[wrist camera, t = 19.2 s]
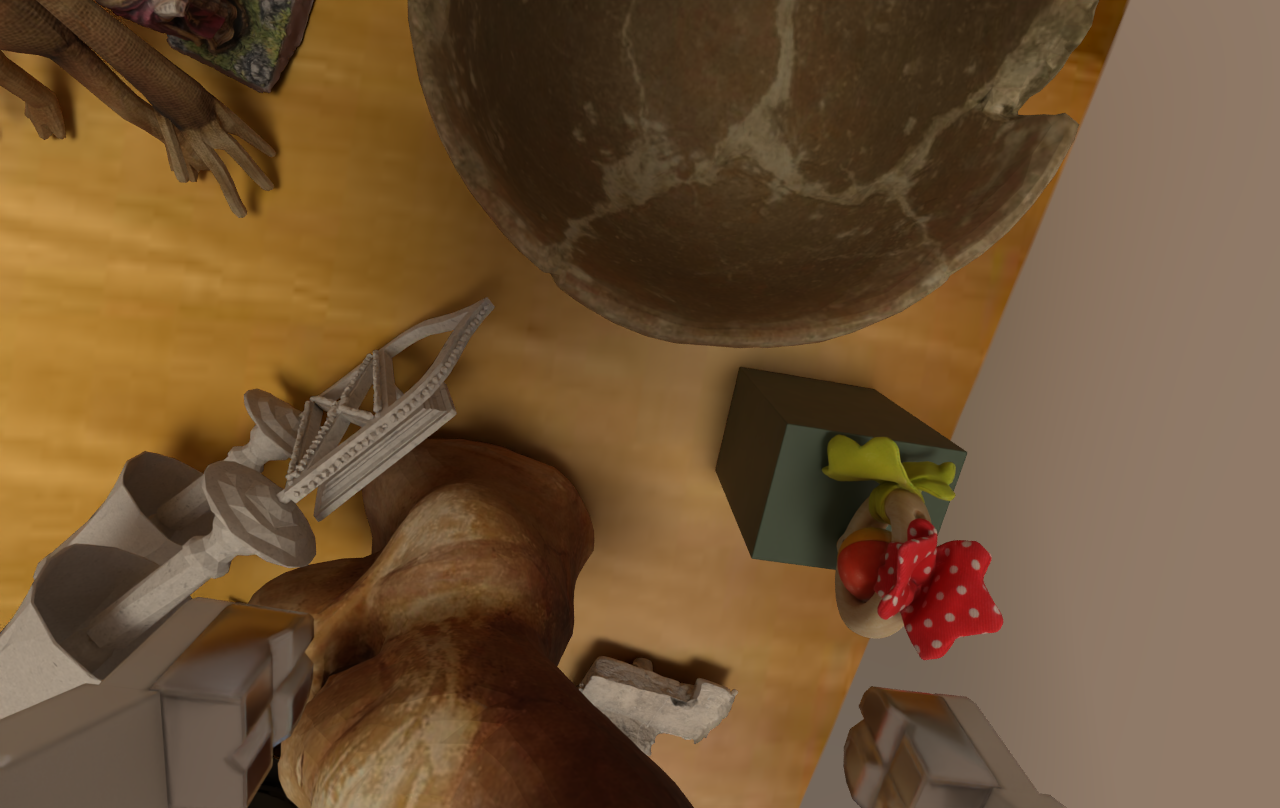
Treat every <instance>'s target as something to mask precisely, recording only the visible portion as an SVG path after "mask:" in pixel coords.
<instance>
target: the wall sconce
mask: <svg viewBox="0 0 1280 808" xmlns="http://www.w3.org/2000/svg"><path fill="white" fill-rule="evenodd" d="M494 308H495V306H494V305H493V304H492V303H491V301H490V300H489V299H488V297H486V298H484V299H482V300H480V301H478V302H476V303H475V304H473V305H471V306H468V307H466V308H464V309H461V310H459V311H456V312H454V313H451V314H447V315H443V316H440V317H436V318H432V319H428V320H425V321H423V322H421V323H419V324H417V325H415V326H413V327H411V328H410V329H408V330H406V331H405V332H403V333H402V334H400V335H399V336H397V337H396V338H394V339H393V340H392V341H390V342H389V343H388V344H386V345H385V346H384V347H383V348H381V349H380V350H379V351H378V350H374V351H373V355H371V354H367V357H366V358H365V359H364V360H363V363H361V364H360V365H359V366H357V367H356V368H355V369H353V370H352V371H351V372H349V373H348V374H347V375H345V376H344V377H343V378H342V379H340V380H339V381H338V382H336V383H335V384H334V385H332V386H331V387H330V388H328V389H327V390H326V391H324V392H323V393H322V394H320V395H319V396H318V395H317V396H313V397H312V396H311V398H310V401H306V402H305V408H304V411H303V412H301V411H300V410H297V409H295V408H293V407H292V406H291V405H289V404H288V403H286V402H284V401H282V400H280V399H278V398H276V397H275V396H273V395H272V394H271V393H268V392H265V391H263V390H260V389H253V390H248V391H247V392H246V393H245V394H244V403H245V407H246V409H247V411H248V413H249V415H250V417H251V418H252V419H253V421H254V422H255V423H256V425H255V426H254V427H253V429H252V430H251V436H250V441H249V443H248V444H246V445H245V446H236V447H233V448H232V449H231V450H230V451H229V453H228V457H227V458H225V459H224V460H223V461H218V462H215V463H212V464H210V465H208V466H207V468H206V470H205V471H204V474H203V473H201V472H199V471H198V470H196V469H194V468H192V467H190V466H188V465H186V464H184V463H183V462H181V461H178V460H176V459H174V458H170V457H167V456H164V455H161V454H157V453H151V452H147V451H144V452H142V453H141V454H139V455H137V456H135V457H133V458H131V459H130V460H128V461H127V462H126V464H125V466H124V468H123V470H122V472H121V474H120V476H119V478H118V480H117V482H116V484H115V486H114V487H113V489H112V491H111V492H110V494H109V496H108V497H107V499H106V501H105V502H104V503H103V504H102V505H101V506H100V508H99V509H98V510H97V511H96V512H95V513H94V514H93V516H92V517H91V518H90V519H89V520H88V521H87V522H86V523H85V524H84V525H83V526H82V527H80V528H79V529H78V530H77V531H76V532H75V533H74V534H72V535H71V536H70V537H69V538H68V539H67V540H66V541H64V542H63V543H62V544H61V545H60V546H59V547H58V548H57V549H55V550H54V551H53V552H52V553H50V554H49V555H47V556H46V557H45V558H44V559H43V560H41V561H40V562H39V563H38V565H37V568H36V571H35V574H34V576H33V577H34V582H33V584H32V586H31V588H30V590H29V592H28V594H27V596H26V597H25V599H24V600H23V602H22V604H21V605H20V607H19V609H18V610H17V612H16V614H15V615H14V617H13V618H12V620H11V621H10V622H9V623H8V624H7V625H6V627H5V628H4V629H3V630H2V631H1V632H0V719H2V718H5V717H7V716H9V715H12V714H14V713H16V712H19V711H21V710H23V709H26V708H28V707H31V706H33V705H35V704H38V703H40V702H42V701H45V700H47V699H49V698H52V697H54V696H56V695H59V694H61V693H63V692H66V691H68V690H70V689H73V688H75V687H78V686H80V685H82V684H85V683H89V684H98V685H99V684H100V683H101V682H102V681H103V680H104V679H105V678H106V677H107V676H108V675H109V674H110V673H111V672H112V671H113V670H114V669H115V668H117V667H118V666H119V665H120V664H121V663H122V662H123V661H124V660H125V659H126V658H127V657H128V656H129V655H130V654H131V653H132V652H133V651H135V650H136V649H137V648H138V647H139V646H140V645H141V644H142V643H143V642H144V641H145V640H146V639H147V638H148V637H149V636H150V635H151V634H153V633H154V632H155V631H156V630H157V629H158V628H159V627H160V626H161V625H162V624H163V623H164V622H165V621H166V620H167V619H168V618H169V617H171V616H172V615H173V614H174V613H175V612H176V611H177V610H178V609H179V608H180V607H181V606H182V605H183V604H184V603H186V602H187V601H189V600H192V598H191V596H190V595H191V594H192V593H193V592H194V591H195V590H197V589H198V588H199V587H200V586H202V585H203V584H204V583H205V582H207V581H208V580H209V579H210V578H218V577H221V576H224V575H225V574H226V573H227V572H228V571H229V568H230V564H231V560H232V559H233V558H234V557H235V556H237V555H248V556H249V555H254V554H256V555H257V556H259V557H261V558H262V559H264V560H265V561H267V562H270V563H274V564H277V565H281V566H284V567H288V568H294V567H304V566H307V565H308V564H309V563H310V562H311V561H312V560H313V558H314V557H315V555H316V543H315V536H314V534H313V532H312V530H311V527H310V525H309V523H308V521H307V519H306V518H305V516H304V515H303V513H302V512H301V510H300V509H299V508H298V506H297V505H296V504H295V503H297V502H298V501H300V500H301V499H302V498H304V497H305V496H306V495H307V494H309V493H310V492H311V491H313V490H314V489H315V488H316V487H318V491H317V497H316V503H315V510H314V517H315V518H316V519H317V521H318V522H319V521H321V520H323V519H324V518H325V517H326V516H328V515H329V514H330V513H331V512H333V511H334V510H335V509H337V508H338V507H339V506H340V505H342V504H343V503H344V502H346V501H347V500H348V499H349V498H351V497H352V496H353V495H354V494H356V493H357V492H358V491H360V490H361V489H362V488H363V487H365V486H366V485H367V484H369V483H370V482H371V481H372V480H374V479H375V478H376V477H378V476H379V475H380V474H381V473H383V472H384V471H385V470H386V469H388V468H389V467H390V466H392V465H393V464H394V463H395V462H397V461H398V460H399V459H401V458H402V457H403V456H404V455H406V454H407V453H408V452H409V451H411V450H412V449H413V448H415V447H416V446H417V445H418V444H420V443H421V442H422V441H424V440H425V439H426V438H427V437H429V436H430V435H431V434H432V433H434V432H435V431H436V430H438V429H439V428H440V427H441V426H443V425H444V424H445V423H447V422H448V421H449V420H450V419H452V418H453V417H454V416H455V415H456V414H457V412H456V410H455V407H454V404H453V401H452V398H451V395H450V392H449V390H448V387H447V384H445V383H444V382H443V381H444V380H445V379H446V378H447V377H448V375H449V374H450V372H451V371H452V369H453V368H454V366H455V365H456V363H457V361H458V359H459V357H460V356H461V354H462V352H463V350H464V348H465V346H466V345H467V343H468V341H469V339H470V338H471V336H472V335H473V334H474V332H475V331H476V329H477V328H478V327H479V325H480V324H481V323H482V321H483V320H484V319H485V318H486V317H487V316H488V315H489V314H490V313H491V311H492V310H493V309H494ZM452 330H454V331H453V332H452V333H451V335H450V336H449V338H448V340H447V341H446V343H445V345H444V346H443V348H442V350H441V351H440V353H439V355H438V356H437V358H436V360H435V361H434V363H433V364H432V366H431V367H430V368H429V369H428V371H427V372H426V373H425V374H424V376H423V377H422V378H421V379H420V380H419V381H418V382H417V383H416V384H415V385H414V386H413V387H412V388H410V389H409V390H408V391H407V392H406V393H405V394H403V393H402V392H401V391H400V390H399V389H398V388H397V387H396V386H395V381H394V372H393V364H392V358H393V357H394V356H395V355H397V354H398V353H400V352H401V351H402V350H404V349H405V348H406V347H408V346H410V345H411V344H413V343H415V342H416V341H418V340H420V339H422V338H425V337H427V336H429V335H433V334H438V333H443V332H447V331H452ZM372 383H373V385H374V387H373V388H374V392H375V393H374V395H373V396H374V398H373V399H374V404H373V405H374V407H373V408H374V409H373V411H374V412H376V414H375V416H374V415H372V413H371V412H367V411H364V410H359V409H358V408H359V407H360V405H361V403H362V401H363V399H364V398H365V396H366V394H367V392H368V391H369V389H370V387H371V385H372ZM339 398H341V400H339V401H338V402H336V400H337V399H339ZM323 410H324V411H326V412H328V413H327V416H328V417H329V418H326V419H327V421H326V422H325V424H324V426H321V429H322V430H321V431H320V425H321V420H322V415H323ZM350 423H354V424H356V425H358V426H361V427H362V428H361V429H359V430H358V431H357V432H356V433H354V434H353V435H352V436H350V437H349V438H348V439H347V440H345V441H344V442H343V443H341V444H340V445H339V446H338V444H339V442H340V441H341V439H342V437H343V435H344V433H345V432H346V430H347V428H348V426H349V425H350ZM288 458H291V459H292V460H291V461H290V463H289V470H288V471H287V472H288V474H287V475H286V476H285V477H286V478H287V482H286V486H285V489H282V488H280V487H279V486H277V485H276V484H275V483H273V482H272V481H270V480H269V479H268V478H266V477H265V476H264V475H262V474H261V473H262V472H263V469H264V464H265V463H266V462H267V461H269V460H286V459H288ZM294 502H295V503H294Z"/></svg>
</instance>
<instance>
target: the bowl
mask: <svg viewBox="0 0 1280 808" xmlns="http://www.w3.org/2000/svg"><path fill="white" fill-rule="evenodd" d="M1098 2H1099V0H408V21H409V27H410V32H411V38H412V44H413V49H414V55H415V60H416V65H417V71H418V76H419V80H420V83H421V87H422V90H423V93H424V96H425V99H426V102H427V105H428V108H429V111H430V114H431V116H432V119H433V122H434V124H435V127H436V129H437V132H438V134H439V137H440V139H441V141H442V143H443V145H444V147H445V149H446V151H447V153H448V155H449V157H450V159H451V161H452V163H453V165H454V167H455V168H456V170H457V172H458V173H459V175H460V176H461V178H462V180H463V181H464V183H465V184H466V186H467V187H468V189H469V191H470V192H471V194H472V195H473V196H474V197H475V199H476V200H477V201H478V203H479V204H480V205H481V206H482V208H483V209H484V210H485V211H486V213H487V214H488V215H489V217H490V218H491V219H492V220H493V222H494V223H495V224H496V225H497V227H498V228H499V229H500V230H501V232H502V233H503V234H504V235H505V236H506V237H507V238H508V239H509V240H510V241H511V243H512V244H513V245H514V246H515V247H516V248H517V249H518V250H519V251H520V252H521V253H522V254H523V255H525V256H526V257H527V258H528V259H529V260H530V261H531V262H533V263H534V264H535V265H536V266H537V267H538V268H539V269H540V270H542V271H543V272H545V273H550V274H551V276H552V277H553V279H554V281H555V283H556V285H557V286H558V287H559V288H560V289H561V290H563V291H564V292H565V293H567V294H568V295H569V296H571V297H572V298H573V299H575V300H576V301H578V302H579V303H581V304H583V305H584V306H586V307H587V308H589V309H590V310H592V311H594V312H596V313H597V314H599V315H601V316H603V317H604V318H606V319H608V320H610V321H611V322H613V323H615V324H618V325H620V326H623V327H625V328H628V329H630V330H632V331H635V332H637V333H640V334H642V335H645V336H648V337H652V338H656V339H660V340H664V341H668V342H673V343H679V344H694V345H708V346H720V347H733V348H753V347H760V348H770V347H782V346H795V345H802V344H810V343H818V342H823V341H826V340H829V339H833V338H836V337H839V336H843V335H846V334H850V333H853V332H855V331H857V330H860V329H862V328H864V327H867V326H869V325H872V324H874V323H876V322H879V321H881V320H883V319H886V318H888V317H890V316H893V315H895V314H897V313H900V312H902V311H903V310H905V309H906V308H908V307H910V306H911V305H913V304H914V303H916V302H917V301H919V300H921V299H922V298H924V297H925V296H927V295H928V294H930V293H931V292H933V291H934V290H935V289H937V288H938V287H940V286H941V285H942V284H943V283H945V282H946V281H947V279H948V278H949V276H950V275H951V274H953V273H954V272H956V271H957V270H959V269H961V268H962V267H964V266H965V265H967V264H968V263H970V262H971V261H973V260H974V259H976V258H977V257H979V256H980V255H981V254H983V253H984V252H985V251H986V250H987V249H989V248H990V247H991V246H992V245H993V244H995V243H996V242H997V241H998V240H999V239H1000V238H1002V237H1003V236H1004V235H1005V234H1006V233H1007V232H1009V230H1010V229H1011V228H1012V227H1013V226H1014V225H1015V224H1016V223H1017V222H1018V221H1019V219H1020V218H1021V217H1022V216H1023V215H1024V214H1025V213H1026V212H1027V211H1028V210H1029V208H1030V207H1031V206H1032V205H1033V204H1034V202H1035V201H1036V200H1037V198H1038V197H1039V196H1040V194H1041V193H1042V192H1043V190H1044V189H1045V187H1046V186H1047V185H1048V183H1049V182H1050V181H1051V179H1052V178H1053V177H1054V175H1055V174H1056V172H1057V170H1058V168H1059V167H1060V165H1061V163H1062V161H1063V159H1064V158H1065V156H1066V154H1067V152H1068V150H1069V149H1070V147H1071V145H1072V143H1073V141H1074V140H1075V136H1076V133H1077V129H1078V126H1079V124H1078V123H1077V122H1076V121H1075V120H1073V119H1072V118H1071V117H1070V116H1068V115H1067V114H1066V113H1062V114H1057V115H1045V114H1042V115H1018V110H1019V109H1020V108H1021V107H1022V106H1023V104H1024V103H1025V102H1026V101H1027V100H1028V98H1029V97H1031V96H1033V95H1034V94H1036V93H1038V92H1040V91H1041V90H1042V89H1043V88H1044V87H1045V86H1046V85H1047V84H1048V83H1049V82H1050V81H1051V80H1052V79H1053V78H1054V77H1055V76H1056V75H1057V73H1058V72H1059V71H1060V70H1061V69H1062V67H1063V66H1064V64H1065V62H1066V61H1067V59H1068V57H1069V55H1070V54H1071V53H1072V51H1073V50H1074V49H1075V48H1076V47H1077V46H1078V45H1079V44H1080V43H1081V41H1082V40H1083V38H1084V37H1085V35H1086V33H1087V32H1088V30H1089V29H1090V27H1091V26H1092V22H1093V17H1094V13H1095V9H1096V6H1097V4H1098Z"/></svg>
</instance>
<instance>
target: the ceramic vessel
mask: <svg viewBox="0 0 1280 808" xmlns="http://www.w3.org/2000/svg"><path fill="white" fill-rule="evenodd" d="M362 496H363V501H364V507H365V512H366V516H367V519H368V522H369V525H370V528H371V533H372V554H371V555H369V556H366V557H364V558H346V559H338V560H332V561H327V562H322V563H316V564H311V565H307V566H304V567H300V568H297V569H294V570H291V571H288V572H286V573H283V574H282V575H280V576H278V577H276V578H274V579H272V580H271V581H269V582H267V583H266V584H265V585H264V586H262V587H261V588H260V589H259V590H258V591H257V592H256V593H254V594H253V596H252V597H251V599H250V601H249V603H248V604H252V605H258V606H265V607H271V608H278V609H284V610H291V611H297V612H304V613H309V614H310V615H311V616H312V617H313V618H314V639H313V640H312V642H311V643H310V645H309V646H308V648H307V649H306V651H305V653H306V654H307V656H308V657H309V658H310V659H311V661H312V662H313V663H314V666H313V681H312V686H311V691H310V696H309V698H308V701H307V704H306V706H305V709H304V711H303V714H302V717H301V719H300V721H299V722H298V724H297V726H296V728H295V729H294V731H293V733H292V734H291V736H290V737H289V738H287V739H286V740H284V741H283V742H281V757H280V760H279V762H278V775H279V780H280V783H281V785H282V788H283V790H284V792H285V794H286V796H287V798H289V799H290V800H291V801H292V802H293V803H294V804H295V805H296V806H297V807H298V808H694V807H693V806H692V804H691V803H690V802H689V800H688V799H687V798H686V796H685V795H684V794H683V792H682V791H681V790H680V788H679V787H678V786H677V785H676V783H675V782H674V781H673V780H672V779H671V778H670V777H669V776H668V775H667V774H666V773H665V772H664V771H663V770H662V769H661V768H660V767H659V766H658V765H657V764H656V763H655V762H653V761H652V760H651V759H650V758H649V757H648V756H647V755H646V754H645V753H644V752H642V751H641V750H640V749H639V747H638V746H637V745H636V744H635V743H634V742H633V741H632V740H631V739H629V738H628V737H627V736H626V735H625V734H624V733H623V732H622V731H621V730H620V729H619V728H618V727H617V726H616V725H615V724H614V723H613V722H612V721H611V720H610V719H609V718H608V717H607V716H606V715H605V714H603V713H602V712H601V711H600V710H599V709H598V708H597V707H595V706H594V705H593V704H592V703H591V702H590V701H589V700H588V699H587V698H586V697H585V696H584V694H583V693H582V692H581V691H580V690H579V689H578V688H577V687H576V686H575V685H574V684H573V683H572V682H571V681H570V680H569V679H568V678H567V677H566V676H565V675H564V673H563V672H562V671H561V670H560V669H559V668H558V667H557V666H558V664H559V662H560V659H561V657H562V655H563V653H564V651H565V649H566V647H567V644H568V642H569V640H570V638H571V636H572V634H573V627H574V590H575V583H576V580H577V577H578V575H579V573H580V571H581V569H582V568H583V566H584V564H585V563H586V561H587V560H588V558H589V557H590V555H591V554H592V552H593V551H594V530H593V526H592V522H591V519H590V516H589V514H588V512H587V510H586V508H585V506H584V504H583V502H582V500H581V498H580V496H579V494H578V492H577V490H576V489H575V488H574V486H573V485H572V483H571V482H570V481H569V480H568V479H567V478H566V477H565V476H564V475H563V474H562V473H560V472H559V471H558V470H557V469H556V468H555V467H552V466H549V465H547V464H544V463H542V462H539V461H537V460H534V459H531V458H529V457H526V456H523V455H520V454H517V453H515V452H513V451H511V450H509V449H506V448H504V447H502V446H497V445H493V444H489V443H485V442H476V441H469V440H465V439H425V440H424V441H422V442H421V443H420V444H418V445H417V446H416V447H415V448H413V449H412V450H411V451H409V452H408V453H407V454H406V455H404V456H403V457H402V458H401V459H399V460H398V461H397V462H395V463H394V464H393V465H392V466H390V467H389V468H388V469H386V470H385V471H384V472H383V473H381V474H380V475H379V476H378V477H376V478H375V479H374V480H372V481H371V482H370V483H369V484H367V485H366V486H365V487H363V488H362Z"/></svg>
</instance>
